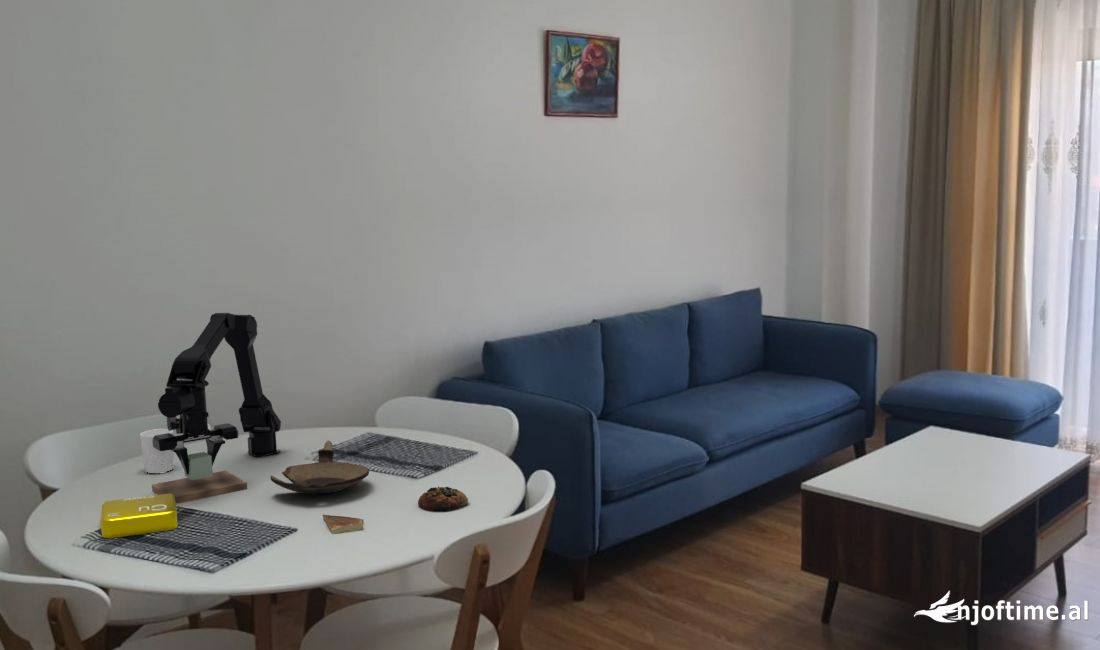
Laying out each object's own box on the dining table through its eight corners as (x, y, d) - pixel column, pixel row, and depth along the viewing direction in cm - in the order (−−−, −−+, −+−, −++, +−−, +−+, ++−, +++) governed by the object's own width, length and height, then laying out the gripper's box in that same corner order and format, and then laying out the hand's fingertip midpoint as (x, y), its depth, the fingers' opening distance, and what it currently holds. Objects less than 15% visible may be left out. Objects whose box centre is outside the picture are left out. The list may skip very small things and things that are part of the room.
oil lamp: (252, 504, 241) (250, 471, 240) (314, 468, 270) (312, 439, 269) (342, 510, 235) (340, 477, 234) (395, 473, 264) (394, 443, 263)
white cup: (169, 474, 267) (166, 436, 265) (138, 475, 267) (134, 436, 266) (180, 466, 275) (177, 428, 273) (150, 466, 275) (147, 429, 273)
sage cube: (205, 471, 256) (204, 451, 255) (212, 476, 252) (211, 455, 251) (184, 475, 253) (183, 455, 252) (191, 480, 249) (190, 459, 248)
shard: (322, 521, 229) (322, 513, 229) (357, 516, 232) (357, 508, 232) (330, 536, 219) (330, 528, 219) (367, 531, 222) (367, 523, 222)
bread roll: (421, 514, 231) (421, 491, 231) (414, 506, 241) (414, 484, 241) (471, 511, 233) (471, 488, 233) (463, 503, 244) (462, 481, 244)
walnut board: (225, 476, 264) (225, 470, 264) (247, 488, 253) (246, 482, 253) (152, 490, 253) (151, 484, 253) (171, 504, 242) (170, 497, 242)
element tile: (175, 510, 239) (174, 490, 238) (178, 531, 225) (176, 509, 224) (103, 520, 233) (101, 499, 233) (101, 541, 220) (99, 519, 219)
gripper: (220, 396, 262) (224, 458, 264) (142, 408, 251) (148, 472, 253) (237, 404, 253) (241, 467, 256) (157, 416, 242) (163, 482, 244)
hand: (198, 472), depth 252 cm, fingers closed on sage cube, 5 cm apart
